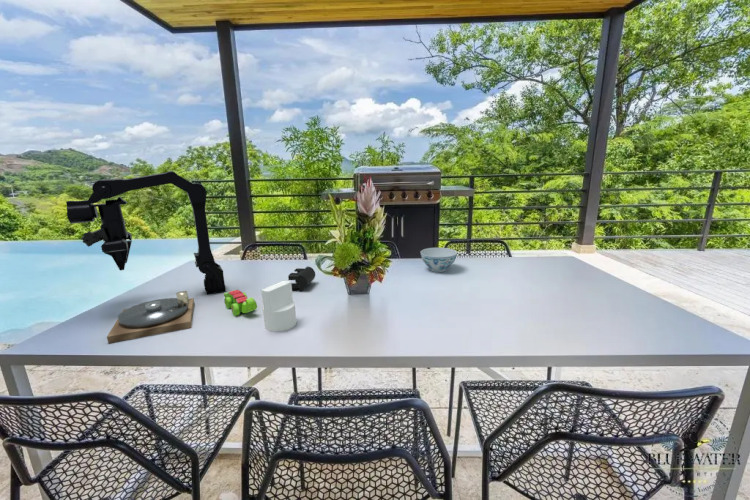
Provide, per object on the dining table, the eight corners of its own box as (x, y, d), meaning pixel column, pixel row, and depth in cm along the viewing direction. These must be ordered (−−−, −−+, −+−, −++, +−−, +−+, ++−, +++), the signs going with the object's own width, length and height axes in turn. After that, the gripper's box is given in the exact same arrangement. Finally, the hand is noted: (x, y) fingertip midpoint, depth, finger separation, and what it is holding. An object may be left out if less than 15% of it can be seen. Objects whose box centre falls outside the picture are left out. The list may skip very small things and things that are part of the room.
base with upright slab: (280, 334, 97) (275, 293, 94) (258, 327, 101) (253, 288, 98) (302, 321, 104) (299, 283, 101) (281, 315, 109) (277, 278, 106)
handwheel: (191, 298, 118) (188, 283, 117) (188, 319, 102) (185, 301, 101) (126, 309, 111) (122, 292, 110) (111, 333, 95) (107, 314, 94)
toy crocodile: (221, 302, 120) (218, 286, 119) (240, 297, 124) (238, 281, 123) (239, 322, 105) (237, 303, 104) (261, 315, 109) (259, 297, 108)
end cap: (307, 292, 127) (306, 274, 126) (289, 291, 128) (287, 274, 127) (316, 282, 137) (315, 266, 135) (298, 282, 138) (297, 266, 136)
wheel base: (194, 303, 120) (193, 297, 119) (191, 327, 102) (190, 320, 102) (124, 315, 112) (123, 308, 112) (108, 343, 95) (106, 336, 94)
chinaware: (460, 274, 141) (460, 256, 139) (422, 275, 141) (422, 257, 139) (452, 264, 155) (453, 247, 153) (418, 264, 156) (418, 248, 154)
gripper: (86, 218, 115) (97, 264, 119) (73, 227, 100) (87, 279, 104) (127, 215, 121) (136, 258, 125) (121, 222, 105) (132, 272, 109)
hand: (123, 266), depth 115 cm, fingers open, 9 cm apart
